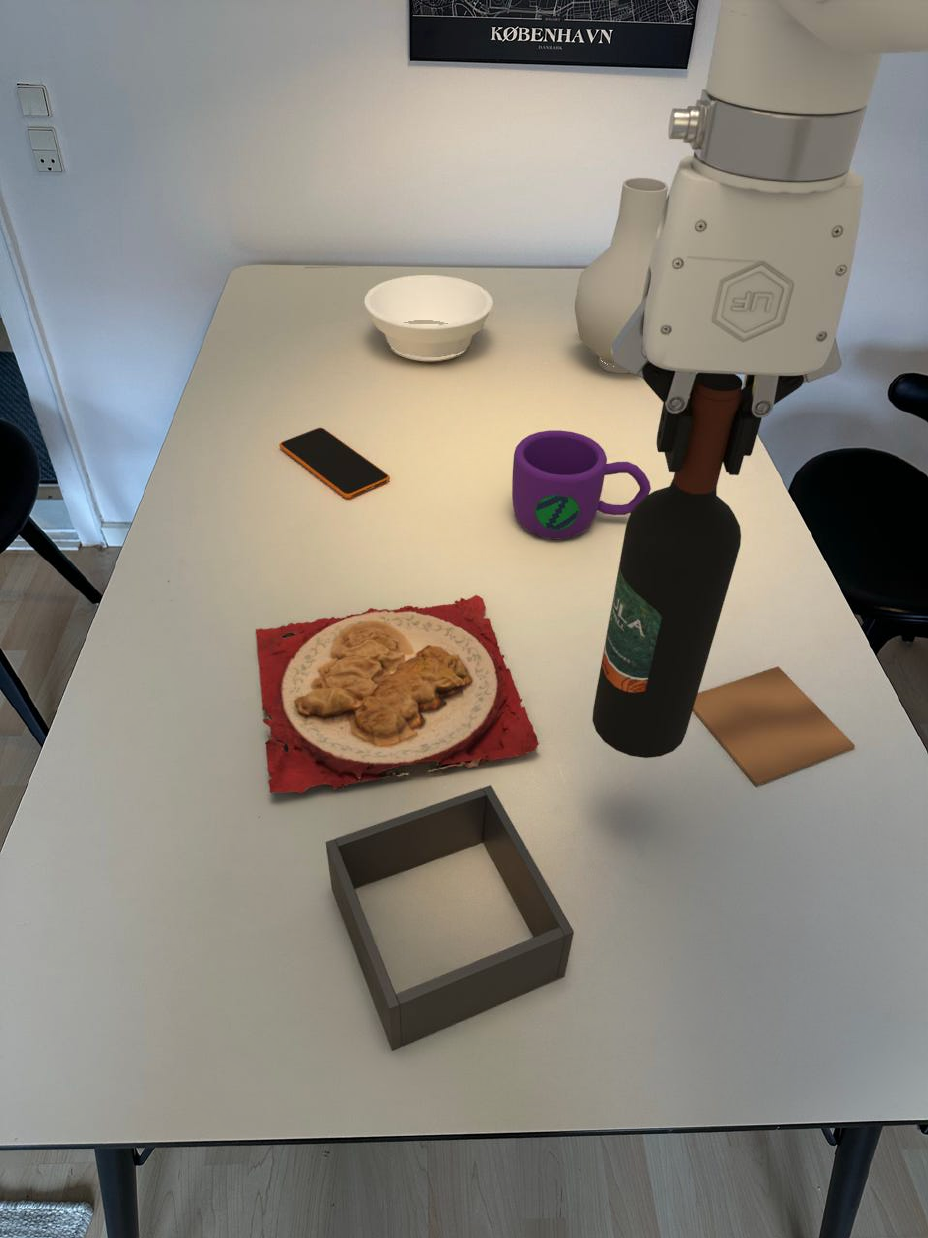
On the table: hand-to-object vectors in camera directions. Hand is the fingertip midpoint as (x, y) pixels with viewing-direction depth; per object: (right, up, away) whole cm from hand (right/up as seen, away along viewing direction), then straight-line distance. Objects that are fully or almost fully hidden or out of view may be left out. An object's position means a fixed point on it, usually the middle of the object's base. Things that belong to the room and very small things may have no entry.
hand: (700, 459), depth 56 cm
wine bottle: (-1, -18, +17) cm, 25 cm away
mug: (0, +3, +61) cm, 61 cm away
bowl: (-21, +36, +96) cm, 105 cm away
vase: (+11, +32, +93) cm, 99 cm away
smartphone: (-33, +11, +69) cm, 77 cm away
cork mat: (+16, -21, +35) cm, 44 cm away
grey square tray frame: (-16, -36, +18) cm, 43 cm away
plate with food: (-23, -18, +37) cm, 47 cm away
